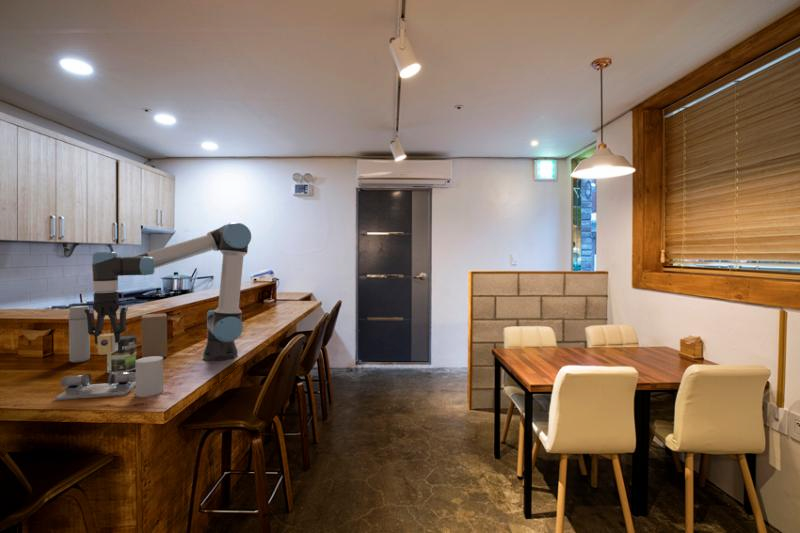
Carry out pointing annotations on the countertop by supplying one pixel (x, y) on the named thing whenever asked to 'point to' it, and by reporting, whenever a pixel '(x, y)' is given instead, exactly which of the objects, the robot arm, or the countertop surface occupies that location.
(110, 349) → the coupler
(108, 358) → the coffee can
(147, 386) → the cup
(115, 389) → the shaft bed
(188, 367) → the countertop surface
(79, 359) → the water bottle
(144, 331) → the wooden block
